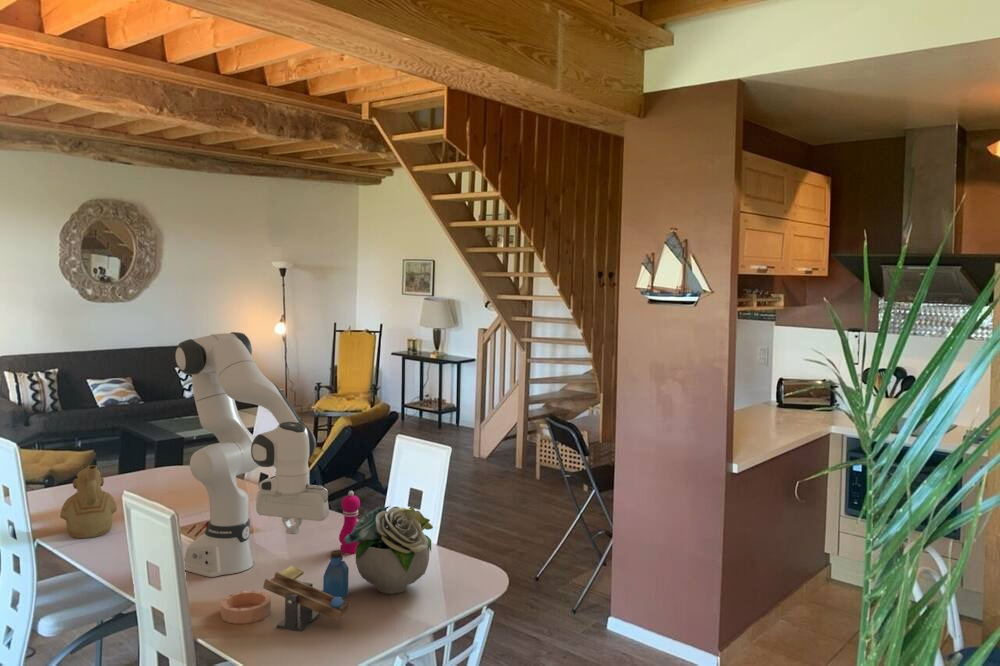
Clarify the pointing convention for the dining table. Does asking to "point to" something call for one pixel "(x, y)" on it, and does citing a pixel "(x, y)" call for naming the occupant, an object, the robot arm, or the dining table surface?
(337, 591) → the perfume bottle
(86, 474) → the ceramic vessel
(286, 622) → the fulcrum
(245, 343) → the robot arm
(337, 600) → the ball
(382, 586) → the flower arrangement
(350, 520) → the pepper mill
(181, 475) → the dining table surface
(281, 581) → the lever
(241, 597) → the orange round tray
